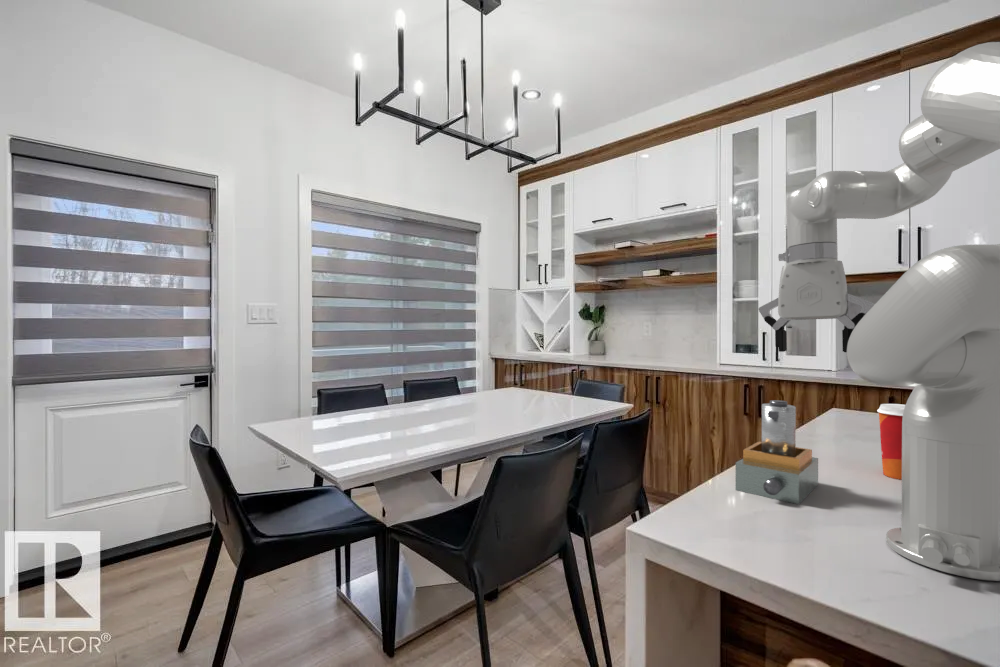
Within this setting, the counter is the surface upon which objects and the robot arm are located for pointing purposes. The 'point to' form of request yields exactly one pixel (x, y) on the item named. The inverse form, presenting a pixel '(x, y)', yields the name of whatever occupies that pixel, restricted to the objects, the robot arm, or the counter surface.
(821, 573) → the counter surface
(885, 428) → the paper cup
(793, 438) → the spout can
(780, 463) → the box
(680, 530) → the counter surface
